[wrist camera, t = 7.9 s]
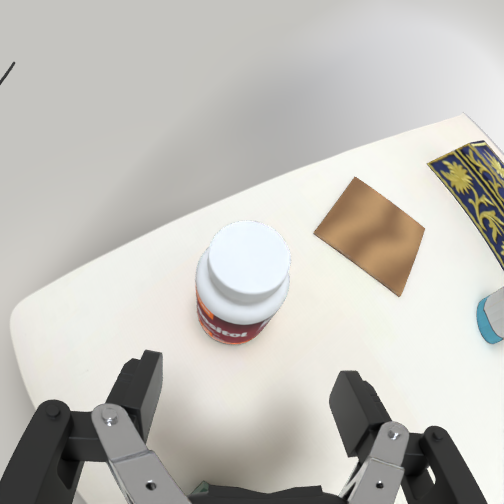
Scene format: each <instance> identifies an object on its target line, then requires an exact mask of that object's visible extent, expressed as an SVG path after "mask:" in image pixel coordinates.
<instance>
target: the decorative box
mask: <svg viewBox="0 0 504 504" xmlns="http://www.w3.org/2000/svg"><path fill="white" fill-rule="evenodd" d="M427 164H428V166H429V167H430V168H431V169H432V170H433V171H434V172H435V174H436V175H437V176H438V177H439V178H440V180H441V181H442V182H443V183H444V184H445V186H446V187H447V188H448V189H449V191H450V192H451V193H452V194H453V196H454V197H455V198H456V199H457V201H458V202H459V203H460V205H461V206H462V207H463V209H464V210H465V211H466V213H467V214H468V216H469V217H470V218H471V220H472V221H473V223H474V224H475V225H476V227H477V228H478V230H479V231H480V233H481V234H482V236H483V237H484V239H485V240H486V242H487V243H488V245H489V247H490V248H491V250H492V251H493V253H494V255H495V256H496V258H497V260H498V261H499V263H500V265H501V266H502V268H503V270H504V163H503V162H502V161H501V160H500V159H499V157H498V156H497V155H496V154H495V153H494V151H493V150H492V149H491V148H490V147H489V146H488V144H487V143H486V142H485V141H484V140H483V141H477V142H472V143H468V144H466V145H464V146H462V147H460V148H458V149H456V150H454V151H452V152H450V153H448V154H445V155H443V156H441V157H439V158H437V159H435V160H433V161H431V162H429V163H427Z"/></svg>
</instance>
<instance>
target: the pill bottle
mask: <svg viewBox="0 0 504 504" xmlns="http://www.w3.org/2000/svg"><path fill="white" fill-rule="evenodd" d="M290 264H291V256H290V251H289V248H288V245H287V243H286V242H285V240H284V238H283V237H282V236H281V235H280V234H279V233H278V232H277V231H276V230H274V229H273V228H271V227H270V226H268V225H266V224H263V223H260V222H256V221H238V222H234V223H231V224H229V225H227V226H225V227H224V228H222V229H221V230H220V231H219V232H218V233H217V234H216V235H215V236H214V238H213V239H212V241H211V244H210V246H209V247H208V248H207V249H206V251H205V252H204V253H203V255H202V256H201V258H200V260H199V262H198V265H197V269H196V280H195V282H196V297H197V313H198V318H199V321H200V324H201V326H202V328H203V329H204V330H205V332H206V333H207V334H208V335H209V336H211V337H212V338H213V339H215V340H217V341H219V342H222V343H225V344H232V345H235V344H242V343H245V342H248V341H250V340H252V339H253V338H255V337H256V336H257V335H258V334H259V333H260V332H261V331H262V330H263V328H264V327H265V326H266V325H267V323H268V322H269V321H270V320H271V318H272V317H273V316H274V315H275V313H276V312H277V311H278V310H279V308H280V307H281V305H282V304H283V302H284V301H285V299H286V296H287V294H288V290H289V283H290V277H289V269H290Z"/></svg>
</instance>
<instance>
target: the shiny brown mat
mask: <svg viewBox="0 0 504 504" xmlns="http://www.w3.org/2000/svg"><path fill="white" fill-rule="evenodd" d="M424 230H425V228H424V227H423V226H421V225H420V224H419V223H418V222H416V221H415V220H414V219H413V218H411V217H410V216H409V215H407V214H406V213H405V212H404V211H402V210H401V209H400V208H398V207H397V206H396V205H394V204H393V203H392V202H390V201H389V200H388V199H386V198H385V197H384V196H382V195H381V194H379V193H378V192H377V191H375V190H374V189H372V188H371V187H370V186H368V185H367V184H365V183H364V182H362V181H361V180H359V179H358V178H357V177H354V179H353V180H352V181H351V183H350V184H349V185H348V187H347V188H346V190H345V191H344V192H343V194H342V195H341V196H340V198H339V199H338V201H337V202H336V203H335V205H334V206H333V207H332V209H331V210H330V211H329V213H328V214H327V215H326V217H325V218H324V220H323V221H322V222H321V224H320V225H319V226H318V228H317V229H316V230H315V232H314V234H315V235H316V236H318V237H319V238H320V239H322V240H323V241H325V242H326V243H328V244H329V245H330V246H332V247H333V248H334V249H336V250H337V251H339V252H340V253H341V254H343V255H344V256H346V257H347V258H348V259H350V260H351V261H352V262H354V263H355V264H356V265H358V266H359V267H361V268H362V269H363V270H365V271H366V272H367V273H369V274H370V275H371V276H373V277H374V278H375V279H377V280H378V281H379V282H381V283H382V284H383V285H384V286H386V287H387V288H388V289H390V290H391V291H392V292H394V293H395V294H396V295H397V296H399V297H400V296H401V294H402V292H403V289H404V287H405V284H406V282H407V279H408V277H409V274H410V271H411V269H412V266H413V263H414V260H415V257H416V255H417V252H418V249H419V246H420V243H421V240H422V237H423V234H424Z"/></svg>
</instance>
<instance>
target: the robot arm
mask: <svg viewBox="0 0 504 504" xmlns="http://www.w3.org/2000/svg"><path fill="white" fill-rule="evenodd" d="M14 64H15V62H13V63H12V65H11V66H10V68H9V69H8V71H7V72H6V73H5V75H4V76H3V77H2V79H1V80H0V85H1V83H2V82H3V80H4V79H5V78H6V77H7V75H8V74H9V72H10V71H11V69H12V68H13V66H14ZM162 381H163V356H162V353H161V352H155V351H150V350H145V351H144V353H143V355H142V357H141V360H138V359H134V358H132V359H131V360H129V361H128V362H127V363H125V364H124V366H123V368H122V370H121V373H120V374H119V376H118V378H117V380H116V382H115V384H114V386H113V388H112V390H111V392H110V394H109V396H108V398H107V400H106V402H105V404H101V405H99V406H97V407H96V408H94V410H93V411H91V412H78V411H70V409H69V407H68V406H67V405H66V404H65V403H64V402H62V401H59V400H47V401H45V402H43V403H41V404H40V405H39V407H38V408H37V410H36V412H35V414H34V415H33V417H32V419H31V421H30V423H29V424H28V426H27V428H26V430H25V432H24V434H23V435H22V437H21V440H20V441H19V443H18V445H17V447H16V449H15V451H14V453H13V455H12V457H11V459H10V461H9V463H8V466H7V467H6V470H5V472H4V474H3V477H2V478H1V481H0V504H72V502H73V498H74V495H75V491H76V488H77V485H78V481H79V478H80V475H81V472H82V468H83V465H84V462H85V461H93V462H106V463H107V465H108V467H109V469H110V471H111V473H112V475H113V477H114V479H115V480H116V482H117V484H118V486H119V488H120V490H121V492H122V493H123V495H124V497H125V499H126V501H127V503H128V504H394V501H395V498H396V495H397V492H398V490H399V487H400V484H401V486H402V489H403V492H404V494H405V497H406V500H407V502H408V504H487V502H486V500H485V498H484V496H483V494H482V492H481V490H480V488H479V486H478V484H477V483H476V481H475V479H474V477H473V475H472V473H471V472H470V470H469V468H468V466H467V464H466V463H465V461H464V459H463V457H462V456H461V454H460V452H459V451H458V449H457V447H456V445H455V444H454V442H453V440H452V439H451V437H450V435H449V434H448V432H447V431H446V430H445V429H443V428H441V427H439V426H430V427H428V428H427V429H426V430H425V432H424V433H423V434H419V433H409V431H408V430H407V428H406V427H405V426H404V425H402V424H400V423H398V422H393V421H392V420H391V418H390V416H389V414H388V413H387V411H386V409H385V407H384V405H383V404H382V402H380V401H381V400H380V398H379V397H378V396H377V393H376V391H375V390H374V388H373V387H372V386H371V385H370V384H369V383H368V382H367V381H363V380H362V378H361V377H360V375H359V373H358V372H357V371H340V373H339V375H338V377H337V379H336V382H335V384H334V387H333V389H332V392H331V394H330V398H329V405H330V409H331V411H332V414H333V417H334V419H335V422H336V425H337V428H338V431H339V433H340V436H341V439H342V442H343V444H344V447H345V450H346V453H347V456H348V457H356V456H358V459H359V460H358V462H357V463H356V465H355V467H354V469H353V471H352V473H351V475H350V476H349V478H348V480H347V482H346V484H345V486H344V488H343V489H342V491H341V493H340V494H339V495H338V496H337V495H334V494H330V493H325V492H322V488H321V485H320V486H309V487H295V488H291V489H287V490H283V491H279V492H274V493H269V494H266V493H260V492H256V491H251V490H247V489H243V488H239V487H227V486H215V485H209V486H208V491H207V492H199V493H194V494H191V495H188V496H186V495H185V494H184V493H183V492H182V490H181V489H180V488H179V486H178V485H177V484H176V482H175V481H174V480H173V478H172V477H171V475H170V474H169V473H168V471H167V470H166V468H165V467H164V465H163V464H162V463H161V461H160V460H159V458H158V457H157V455H156V454H155V453H154V452H153V451H152V450H150V451H149V450H148V448H147V447H146V442H147V438H148V434H149V431H150V427H151V424H152V420H153V417H154V413H155V410H156V407H157V403H158V400H159V396H160V393H161V389H162ZM429 466H430V467H431V469H432V471H433V473H434V475H435V478H436V481H435V484H434V483H433V481H432V479H431V477H430V475H429V472H428V470H427V468H428V467H429Z"/></svg>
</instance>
